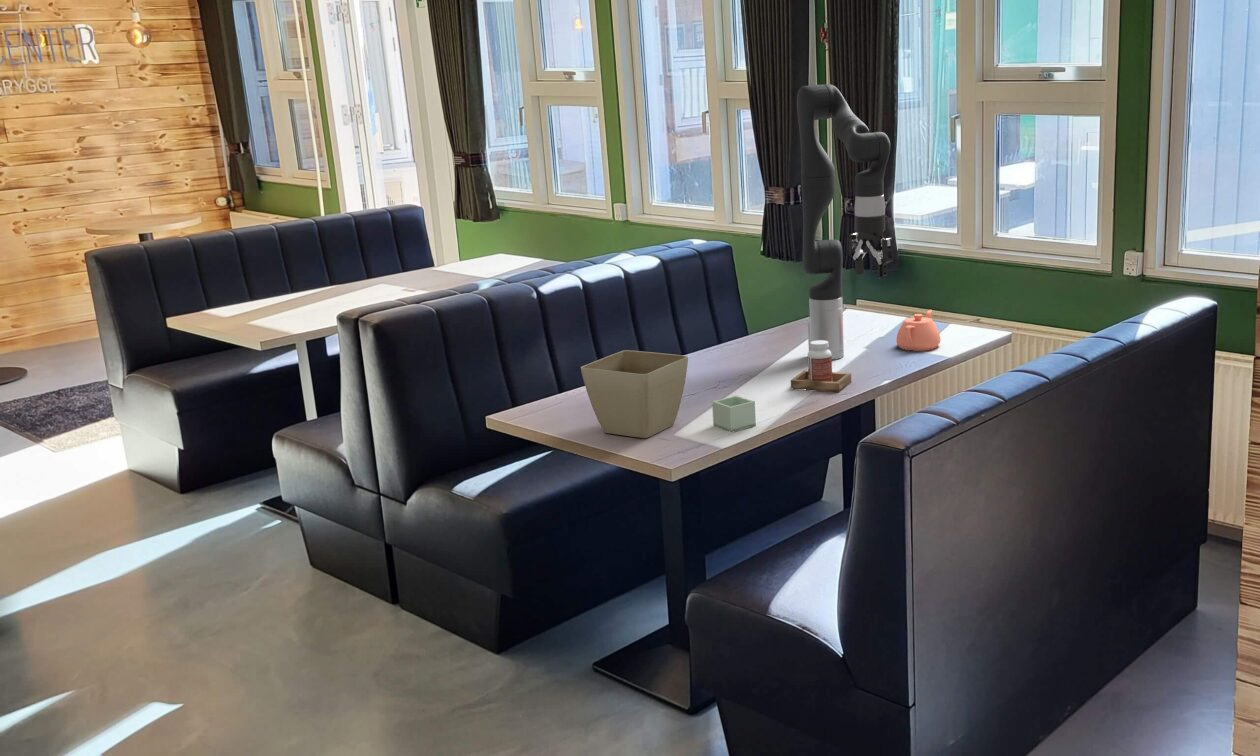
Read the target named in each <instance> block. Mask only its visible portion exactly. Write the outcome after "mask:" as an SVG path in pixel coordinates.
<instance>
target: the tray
mask: <svg viewBox="0 0 1260 756" xmlns="http://www.w3.org/2000/svg"><path fill="white" fill-rule="evenodd" d="M851 383H852V373H849V372H834V371H832V382H825V381H811V380H809V376H808V370H805V369H804V370H802V371H801V372H800V373H798V374H797V375H796V376H794V377H793V378H792V379H790V389H791V388H793V389H792V390H796V389H806V390H805V391H810V390H816V391H815V392H826V393H840V392H842V391H843V390H844V389H845V388H847V386H849V385H851Z"/></svg>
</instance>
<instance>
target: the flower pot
mask: <svg viewBox="0 0 1260 756" xmlns="http://www.w3.org/2000/svg"><path fill="white" fill-rule="evenodd" d="M688 362H689V356H688V355H682V354H681V355H680V354H672V353H661V352H651V351H640V350H632V349H631V350H630V349H629V350H628V349H625V350H623V349H622V350H621V351H617V352H616V353H612V354H610V355H607V356H605V357H603V358H600V359H598V360H594V361H592V362H590V363H587V364H585V365H581V366H580V369H581V370H580V371H581V375H582V376H581V377H582V379H583V383H584V386H585V387H584V388H585V390H586V393H587V395H588V399H589V402H590V405H591V407H592V410H593V411H594V413H595V414H594V415H595V416H596V419H597V420H598V423H599V426H600V428H601V429H602V431H603V433H605V434H612V435H618V436H627V437H633V438H641V439H647V438H650V437H652V436H654V435H656V434H659V433H661V432H662V431H665V430H666V429H668V428H671V427H672V426H674V425H675V423H676V419H677V415H678V414H679V410H680V406H681V403H682V398H683V394H684V389H685V384H686V380H687V379H686V378H687V372H688Z"/></svg>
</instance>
